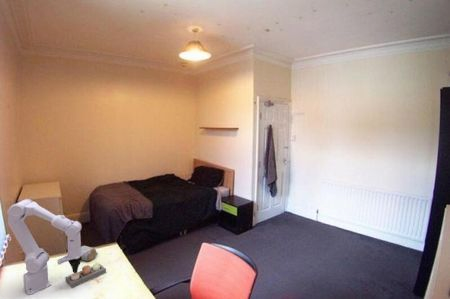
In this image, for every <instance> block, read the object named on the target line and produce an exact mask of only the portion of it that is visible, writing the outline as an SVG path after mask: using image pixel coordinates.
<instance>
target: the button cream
mask: <svg viewBox="0 0 450 299" xmlns="http://www.w3.org/2000/svg"><path fill="white" fill-rule="evenodd" d="M79 272H80V271H77V272H76V273H74V272H72V274H70V275H71V280H72V281H74V280H76V279H79V278H80V274H79Z"/></svg>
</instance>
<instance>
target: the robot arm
mask: <svg viewBox="0 0 450 299" xmlns="http://www.w3.org/2000/svg"><path fill="white" fill-rule="evenodd" d="M6 214H7V224H8V227H9V228H10V230H11V232H12V233H13V235H14V237H15V239H16V240H17V242H18V244H19V245H20V248H21V249H22V250H23V253H24V254H25V258H24V264H25V269H26V271H27V272H26V273H24V274H23V276H22V277H23V278H22V279H23V290H24V291H25V293H26V294H27V295H31V294H34V293H36V292H39V291H41V290H43V289H46V288H49V287H50V286H52V283H51V281H49V273H48V272H49V271H48V270H49V269H48V268H49V267H48V262H49V260H50V255H49V253H48V252H46V251H45V250H44V248H41V247H39V246H38V243H37V242H36V240H35V239H34V236H33V234H31V232H30V230H29V228H28V225H27V224H26V222H25V219H26V217H29V216H36V217H38V218H41V219H43V220H45V221H48V222H50V224H51V226H52V227H54V228H56V229H58V230H60V231H62V232H64V234H65V235H66V238H67V255H65V256H63V257H61V258H58V259H57V265H59V266H60V265H62V264H64V263H66V262H68V264H69V266H70V267H71V270H72V273H76V272H79V267H80V264H81V263H82V261H83V260H82V258H81V256H83V255H86V254H90V249H87V250H82V251H81V247H82V242H81V231H82V226H83V225H82V223H81V222H80V221H78V220H75V221H74V220H71V219H69V218H67V217H66V215H64V214H63V215H62V214H58V215H56V214H54V213H52V212H51V211H49V210H47V209H46V208H44V207H42V206H40V205H39V204H38V203H37V201H33V200H32V199H29V198H25V199H22V200H21V201H18V202H16V203H15V204H12V205H11V206H9V208H8V209H7V211H6Z"/></svg>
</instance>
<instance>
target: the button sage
mask: <svg viewBox="0 0 450 299" xmlns="http://www.w3.org/2000/svg"><path fill="white" fill-rule="evenodd" d="M100 265H101V264H100V263H95V264H93V265H92V266H93V272H95V271H97V270H100Z"/></svg>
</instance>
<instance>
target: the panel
mask: <svg viewBox="0 0 450 299" xmlns="http://www.w3.org/2000/svg"><path fill="white" fill-rule="evenodd" d="M78 272H79V274H80V278H79V279H76V280H74V281H72V280H71V275H72V274H70V275H68V276H66V277H65V283H66V284H67V285H68V286H69V287H70V288H71V289H73V288H75V287H78V286H80V285H82V284H84V283H87V282H90V281H91V280H93V279H95V278H98V277H100V276H103V275H105V274H107V269H106V267H104V266H103V265H102V264H100V270H97V271H95V272H93V265H92V266H90V274H88V275H86V276H83V275H82V270H80V271H78Z"/></svg>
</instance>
